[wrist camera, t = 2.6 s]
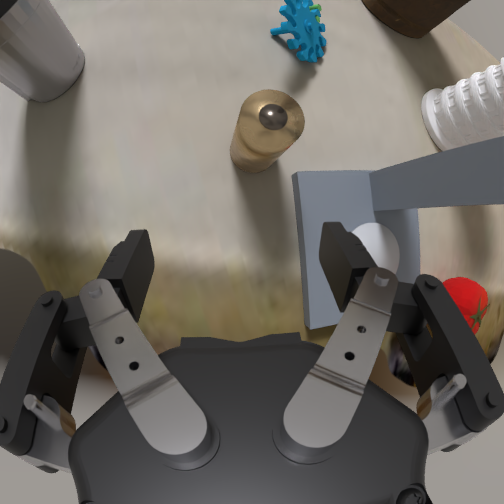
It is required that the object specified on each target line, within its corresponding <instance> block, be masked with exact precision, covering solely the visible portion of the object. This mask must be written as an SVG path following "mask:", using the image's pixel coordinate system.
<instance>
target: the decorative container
mask: <svg viewBox="0 0 504 504" xmlns="http://www.w3.org/2000/svg"><path fill="white" fill-rule="evenodd" d="M421 111H422V116H423V120H424V123H425V126H426V129H427V131H428V133H429V135H430V137H431V138H432V139H433V141H434V142H435V144H436V145H437V146H438V147H439V148H440V149H441V151H446V150H450V149H454V148H457V147H461V146H465V145H469V144H473V143H477V142H481V141H485V140H489V139H493V138H497V137H501V136H504V57H502V58H501V64H500V65H498V66H496V65H492V66H489V67H488V68H487V69H486V71H484V72H477V73H474V74H473V75H472V76H471V77H470V78H469V79H462V80H460V81H458V82H457V84H456V85H452V86H447V87H446V88H444V90H443V89H439V88H435V89H432V90H430V91H428V92H426V93H425V95H424V96H423V98H422V102H421Z"/></svg>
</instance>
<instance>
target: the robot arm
mask: <svg viewBox="0 0 504 504" xmlns="http://www.w3.org/2000/svg"><path fill="white" fill-rule="evenodd" d="M84 60H85V57H84V53H83V51H82V50H81V48H80V46H79V45H78V44H77V42H76V41H75V39H74V38H73V36H72V34H71V33H70V31H69V30H68V28H67V27H66V25H65V24H64V22H63V21H62V19H61V18H60V16H59V15H58V13H57V12H56V10H55V9H54V7H53V6H52V4H51V3H50V1H49V0H0V82H1V83H3V84H4V85H6V86H7V87H8V88H10V89H11V90H13V91H14V92H16V93H17V94H18V95H20V96H21V97H23V98H24V99H25V100H27V101H29V100H31V99H33V100H36V101H38V102H47V101H50V100H53V99H55V98H57V97H58V96H60V95H61V94H63V93H64V92H65V91H66V90H67V89H68V88H70V87H71V86H72V84H73V83H74V82H75V81H76V79H77V78H78V76H79V75H80V73H81V71H82V69H83V65H84ZM319 261H320V264H321V267H322V269H323V272H324V274H325V276H326V279H327V281H328V284H329V286H330V289H331V291H332V293H333V296H334V298H335V301H336V303H337V306H338V309H339V311H340V313H344V314H343V316H342V317H341V319H340V321H339V323H338V325H337V327H336V329H335V331H334V332H333V334H332V336H331V338H330V340H329V341H328V343H327V345H326V347H325V348H324V347H322V346H320V345H317V344H314V343H311V342H307V341H301V337H300V333H299V332H296V333H284V334H270V335H267V336H263V337H260V338H256V339H252V340H248V341H245V342H234V341H228V340H223V339H217V338H212V337H181V344H180V346H179V347H175V348H172V349H169V350H167V351H165V352H163V353H161V354H159V355H157V354H156V352H155V351H154V350H153V348H152V347H151V345H150V344H149V342H148V341H147V339H146V338H145V336H144V335H143V333H142V332H141V330H140V329H139V327H138V325H137V324H136V322H138V321H139V318H140V314H141V311H142V307H143V304H144V301H145V297H146V294H147V291H148V288H149V284H150V281H151V278H152V275H153V272H154V256H153V252H152V248H151V243H150V239H149V234H148V231H147V230H146V229H144V230H131V231H130V232H129V234H128V236H127V237H126V239H125V241H121V242H120V243H119V244H117V245H116V246H115V247H114V248H113V250H112V251H111V253H110V255H109V257H108V259H107V260H106V262H105V264H104V266H103V268H102V270H101V272H100V273H99V275H98V277H97V279H95V280H92V281H90V282H88V283H87V284H85V285H84V286H83V287H82V289H81V290H80V293H79V296H75V297H71V298H68V299H63V297H62V295H61V293H60V292H58V291H49V292H47V293H45V294H43V295H42V296H41V297H40V298H39V299H38V300H37V301H36V303H35V305H34V307H33V309H32V311H31V313H30V315H29V317H28V319H27V321H26V323H25V325H24V327H23V329H22V331H21V334H20V336H19V338H18V340H17V343H16V345H15V347H14V349H13V352H12V354H11V357H10V359H9V362H8V364H7V367H6V369H5V372H4V375H3V377H2V380H1V383H0V446H1V447H2V448H4V449H6V450H7V451H9V452H10V453H12V454H14V455H16V456H17V457H19V458H21V459H22V460H24V461H26V462H28V463H30V464H31V465H33V466H36V467H37V468H39V469H41V470H43V471H45V472H48V473H56V472H57V471H59V470H62V471H65V472H69V473H72V475H73V478H74V481H75V485H76V489H77V493H78V500H79V504H433V503H432V501H431V500H430V498H429V496H428V494H427V492H426V489H425V482H424V480H425V476H424V474H425V463H426V458H427V455H429V454H431V453H434V452H437V451H439V450H441V451H443V452H449V451H452V450H454V449H456V448H457V447H459V446H460V445H462V444H464V443H467V442H468V441H470V440H471V439H473V438H474V437H475V436H477V435H478V434H480V433H481V432H482V431H484V430H485V429H486V428H487V427H488V426H489V425H491V424H492V423H493V422H494V421H496V420H497V419H498V418H499V417H500V416H502V414H503V413H504V393H503V391H502V389H501V387H500V384H499V382H498V380H497V378H496V375H495V374H494V372H493V369H492V367H491V365H490V363H489V361H488V359H487V357H486V355H485V353H484V351H483V350H482V348H481V346H480V344H479V342H478V340H477V338H476V337H475V335H474V333H473V331H472V330H471V328H470V326H469V324H468V323H467V321H466V319H465V318H464V316H463V314H462V313H461V311H460V310H459V308H458V306H457V305H456V303H455V302H454V300H453V299H452V297H451V296H450V294H449V293H448V291H447V290H446V288H445V287H444V285H443V284H442V282H441V281H440V280H438V279H437V278H436V277H434V276H431V275H428V274H421V275H419V276H417V278H416V280H415V282H414V284H411V283H405V282H399V281H398V278H397V276H396V275H395V274H394V273H393V272H391V271H390V270H388V269H385V268H382V267H378V266H377V264H376V263H375V261H374V260H373V258H372V256H371V255H370V253H369V252H368V251H367V249H366V247H365V246H364V245H363V243H362V242H361V240H360V239H359V237H357V236H356V235H355V234H353V233H352V232H347V231H346V229H345V228H344V226H343V225H342V223H341V222H324V223H323V226H322V232H321V240H320V246H319ZM427 323H428V324H429V326H430V328H431V330H432V333H433V339H432V337H431V335H430V333H429V331H428V329H427V327H426V325H427ZM386 331H389V332H395V333H396V335H397V338H398V340H399V342H400V345H401V347H402V350H403V352H404V355H405V357H406V360H407V362H408V365H409V368H410V370H411V373H412V376H413V378H414V381H415V384H416V387H417V389H418V392H419V395H420V398H419V400H418V402H417V414H416V413H415V412H414V411H412V410H411V409H409V408H408V407H407V406H405V405H404V404H402V403H401V402H400V401H398V400H397V399H395V398H394V397H393V396H391V395H390V394H388V393H387V392H386V391H384V390H383V389H381V388H380V387H379V386H377V385H376V384H374V383H373V382H371V381H370V380H369V379H368V378H369V376H370V373H371V371H372V368H373V365H374V363H375V360H376V357H377V355H378V352H379V349H380V347H381V344H382V341H383V338H384V335H385V332H386ZM54 341H55V343H56V347H55V350H54V352H53V355H52V358H51V348H52V345H53V343H54ZM92 345H97V347H98V349H99V352H100V354H101V356H102V358H103V360H104V362H105V365H106V367H107V369H108V371H109V373H110V375H111V377H112V379H113V381H114V383H115V385H116V386H117V388H118V390H119V391H118V392H117V393H116V394H115V395H114V396H113V397H112V398H110V399H109V400H108V401H107V402H106V403H105V404H104V405H103V406H102V407H101V408H100V409H99V410H98V411H96V412H95V413H94V414H93V415H92V416H91V417H90V418H89V419H88V420H87V421H86V422H84V423H83V424H82V425H81V426H80V427H79V428H78V429H77V430H76V424H75V420H74V418H73V417H72V415H71V411H72V406H73V401H74V397H75V392H76V388H77V383H78V379H79V375H80V372H81V368H82V364H83V360H84V356H85V353H86V350H87V347H88V346H92Z"/></svg>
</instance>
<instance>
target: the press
mask: <svg viewBox="0 0 504 504" xmlns="http://www.w3.org/2000/svg"><path fill="white" fill-rule="evenodd" d="M292 182H293V191H294V200H295V209H296V219H297V229H298V239H299V251H300V263H301V276H302V289H303V305H304V322H305V325H306V326H307V327H308V328H309V329H310V330H311V329H316V328H321V327H325V326H330V325H335V324H338V323H339V321H340V319H341V317H342V316H343V314H344V313H340V311H339V309H338V306H337V303H336V301H335V298H334V296H333V293H332V291H331V289H330V286H329V284H328V281H327V279H326V276H325V274H324V272H323V269H322V267H321V264H320V261H319V246H320V240H321V232H322V226H323V223H324V222H341V223H342V225H343V226H344V228H345V229H346V231H347V232H352V233H353V234H355V235H356V236H357V237H359V239H360V240H361V242H362V243H363V245H364V246H365V247H366V249H367V251H368V252H369V253H370V255H371V256H372V258H373V260H374V261H375V263H376V264H377V266H378V267H382V268H385V269H388V270H390V271H391V272H393V273H394V274H395V275H396V276H397V278H398V281H399V282H405V283H411V284H414V282H415V280H416V278H417V276H419V275H420V239H419V222H418V210H417V208H429V207H447V206H467V205H493V204H504V136H501V137H497V138H493V139H489V140H485V141H481V142H477V143H473V144H469V145H465V146H461V147H457V148H454V149H450V150H446V151H443V152H439V153H435V154H432V155H428V156H425V157H421V158H418V159H414V160H411V161H407V162H404V163H400V164H397V165H394V166H390V167H387V168H384V169H380V170H377V171H366V170H344V171H302V172H296V173H294V174H293V175H292Z"/></svg>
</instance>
